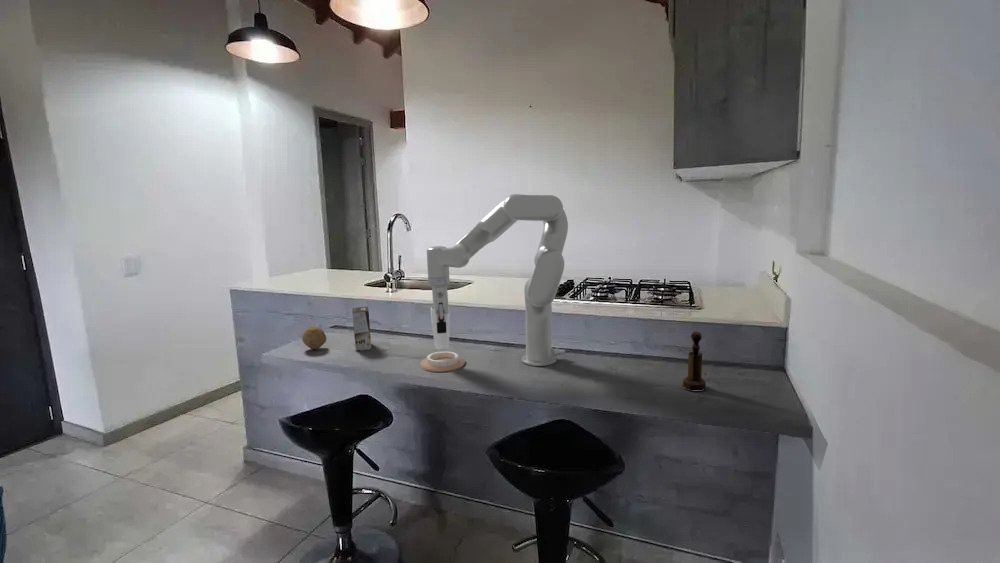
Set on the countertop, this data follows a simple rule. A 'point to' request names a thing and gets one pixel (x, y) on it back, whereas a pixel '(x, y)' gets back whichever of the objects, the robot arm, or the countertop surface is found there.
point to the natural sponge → (314, 337)
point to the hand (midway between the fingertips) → (441, 329)
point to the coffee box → (361, 328)
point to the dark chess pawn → (695, 366)
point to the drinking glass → (440, 338)
